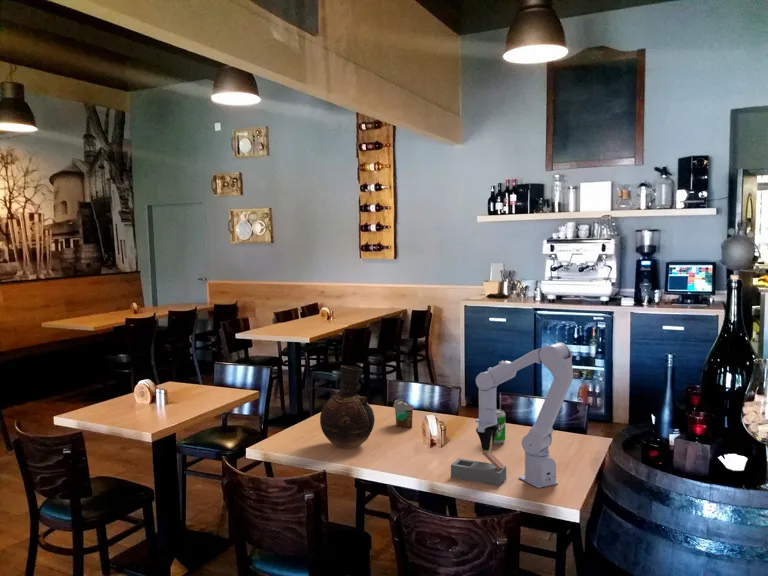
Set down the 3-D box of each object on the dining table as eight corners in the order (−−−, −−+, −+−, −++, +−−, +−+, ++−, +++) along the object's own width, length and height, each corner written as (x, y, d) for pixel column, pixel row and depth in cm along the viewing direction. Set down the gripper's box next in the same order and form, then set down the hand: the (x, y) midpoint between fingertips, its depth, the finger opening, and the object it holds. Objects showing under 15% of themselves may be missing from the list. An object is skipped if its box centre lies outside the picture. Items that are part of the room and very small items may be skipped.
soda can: (481, 440, 231) (481, 409, 230) (498, 438, 233) (498, 407, 233) (491, 446, 224) (491, 414, 223) (509, 443, 226) (509, 412, 226)
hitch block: (506, 478, 191) (506, 465, 191) (499, 485, 185) (500, 473, 185) (458, 470, 198) (458, 458, 198) (450, 477, 192) (450, 464, 192)
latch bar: (501, 467, 189) (503, 465, 189) (498, 470, 187) (500, 468, 186) (487, 453, 191) (489, 451, 191) (484, 455, 189) (486, 453, 188)
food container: (389, 422, 255) (389, 399, 255) (403, 421, 257) (403, 398, 257) (398, 430, 244) (398, 406, 243) (413, 429, 245) (413, 405, 245)
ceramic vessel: (310, 447, 222) (309, 367, 220) (335, 435, 237) (335, 360, 236) (359, 456, 212) (359, 372, 210) (383, 443, 227) (382, 364, 226)
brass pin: (494, 455, 198) (494, 431, 198) (486, 456, 197) (486, 432, 197) (488, 452, 201) (488, 428, 201) (480, 453, 200) (480, 429, 200)
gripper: (482, 401, 207) (482, 440, 207) (468, 411, 194) (468, 452, 194) (502, 403, 203) (502, 443, 204) (489, 413, 191) (489, 456, 191)
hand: (487, 448), depth 199 cm, fingers closed on brass pin, 3 cm apart
